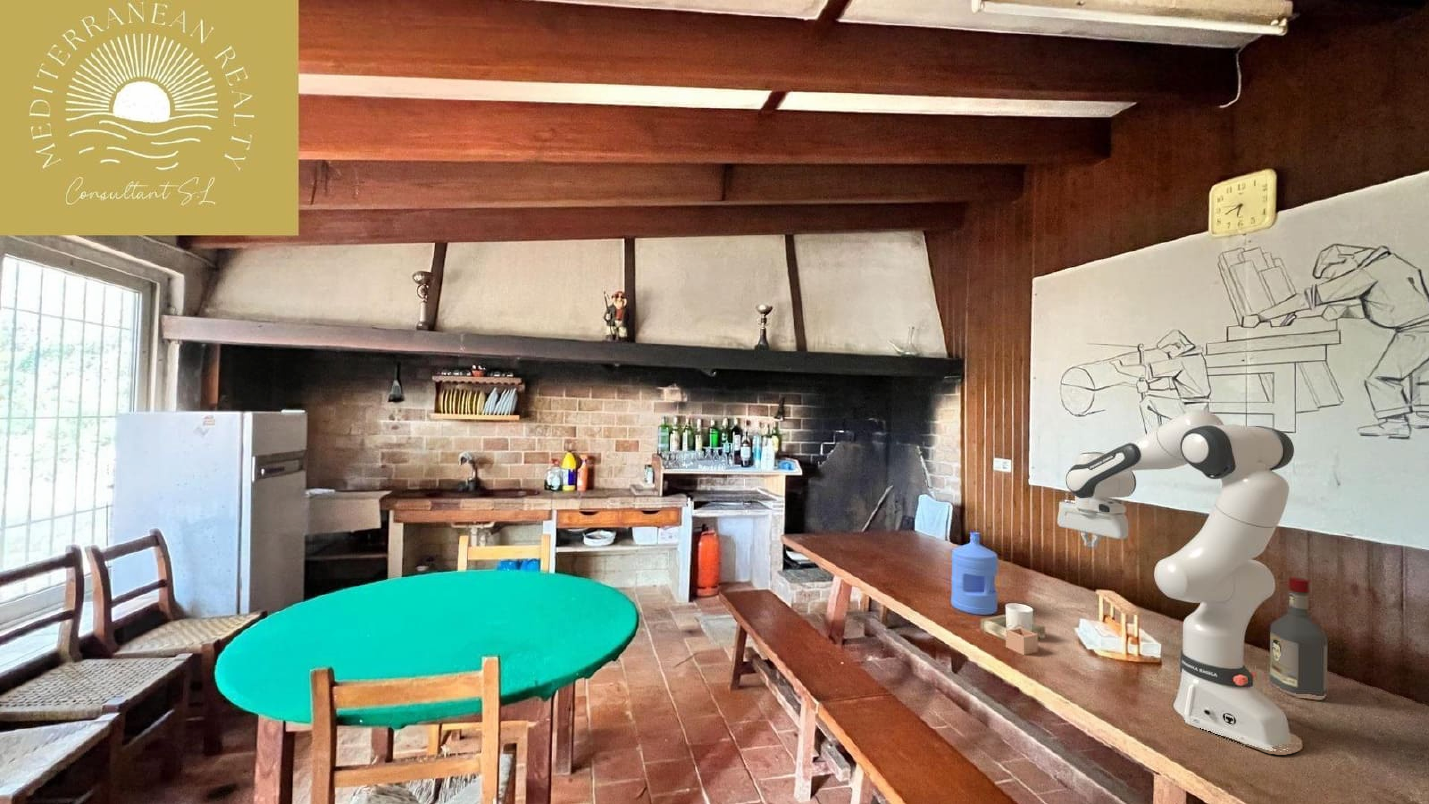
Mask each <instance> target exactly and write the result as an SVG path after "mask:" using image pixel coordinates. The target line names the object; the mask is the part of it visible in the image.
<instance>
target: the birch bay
mask: <svg viewBox="0 0 1429 804" xmlns="http://www.w3.org/2000/svg"><path fill="white" fill-rule="evenodd" d="M980 630H982V631H985V632H986V633H989V634H991V635H994V636H995V637H998V638H1000V639H1002V640H1005V641H1006V630H1008V628H1007V627H1006V613H1005V614H1000V615H996V616H990V617H985V618H980ZM1032 632H1033V633H1035V634H1038V638H1040V639H1043V638H1046V627H1045V626H1043V625H1041V624H1039V623H1035V622H1033V621H1032Z"/></svg>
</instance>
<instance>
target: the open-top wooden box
mask: <svg viewBox="0 0 1429 804" xmlns="http://www.w3.org/2000/svg"><path fill="white" fill-rule="evenodd" d="M1038 641H1039V637H1038V634H1035V633H1033V632H1031V631H1028V630H1026V629H1023V628H1021V627H1018V628H1013V629H1008V630H1006V640H1005V648H1008V649H1010V650H1011V651H1013V652H1016V653H1018V654H1021V655H1023V656H1026V655H1030V654H1034V653H1038V650H1039V648H1038V647H1039V646H1038V645H1039V642H1038Z"/></svg>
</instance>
